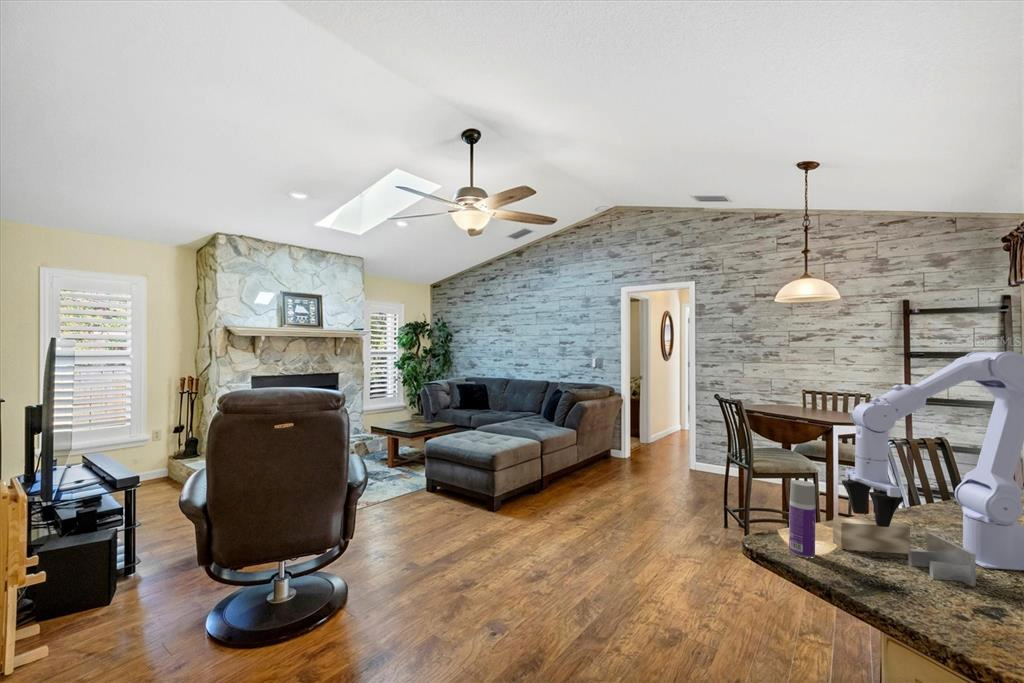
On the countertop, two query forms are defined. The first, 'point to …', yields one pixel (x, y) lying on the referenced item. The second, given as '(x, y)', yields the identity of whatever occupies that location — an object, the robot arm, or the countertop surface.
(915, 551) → the bracket
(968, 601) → the countertop surface
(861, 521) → the rail
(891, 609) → the countertop surface
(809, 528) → the container
